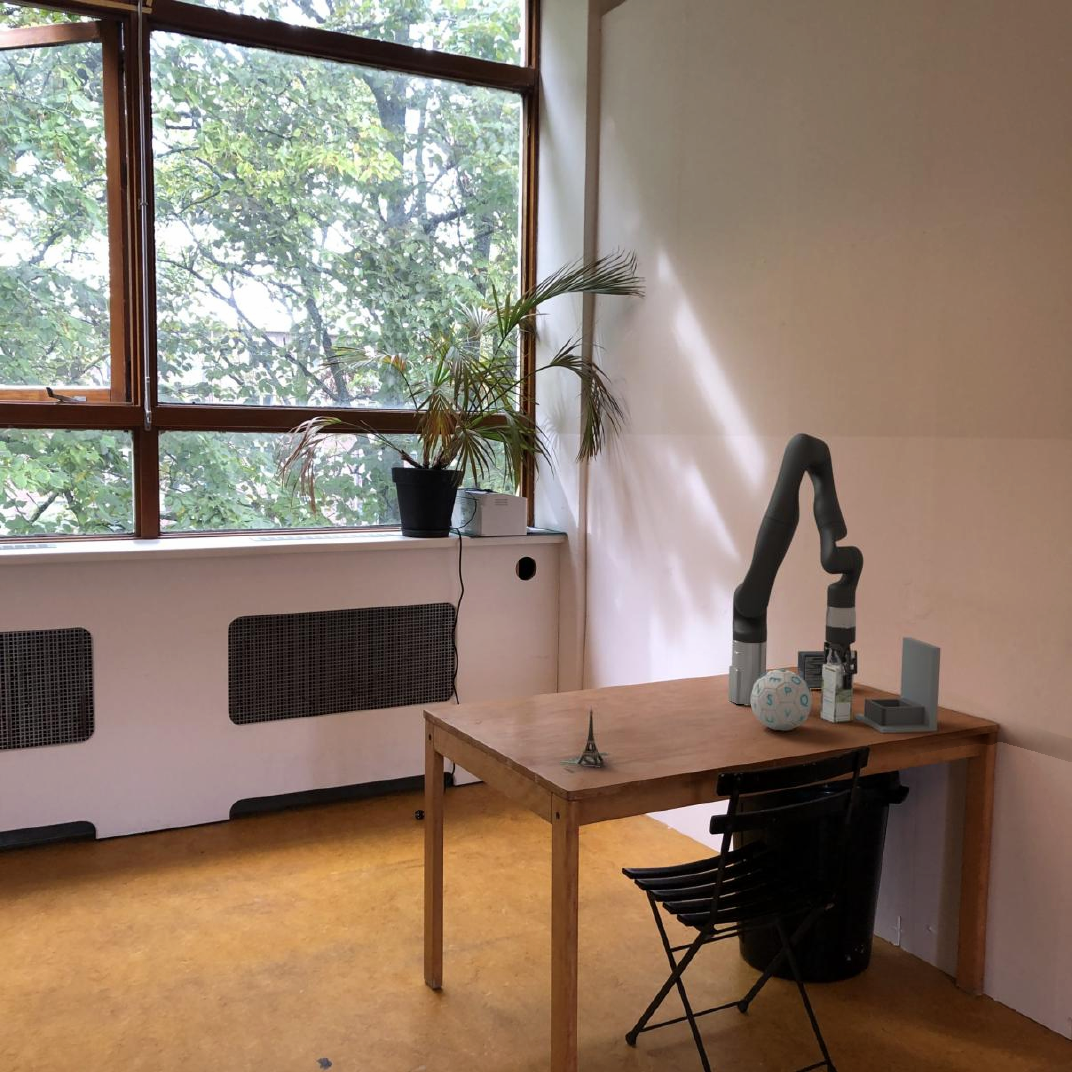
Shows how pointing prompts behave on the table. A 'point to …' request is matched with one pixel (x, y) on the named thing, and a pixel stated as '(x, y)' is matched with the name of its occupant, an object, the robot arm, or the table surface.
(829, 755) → the table surface
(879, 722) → the wall holder
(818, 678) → the small box
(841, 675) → the syrup box
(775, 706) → the puzzle ball
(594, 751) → the eiffel tower figurine
